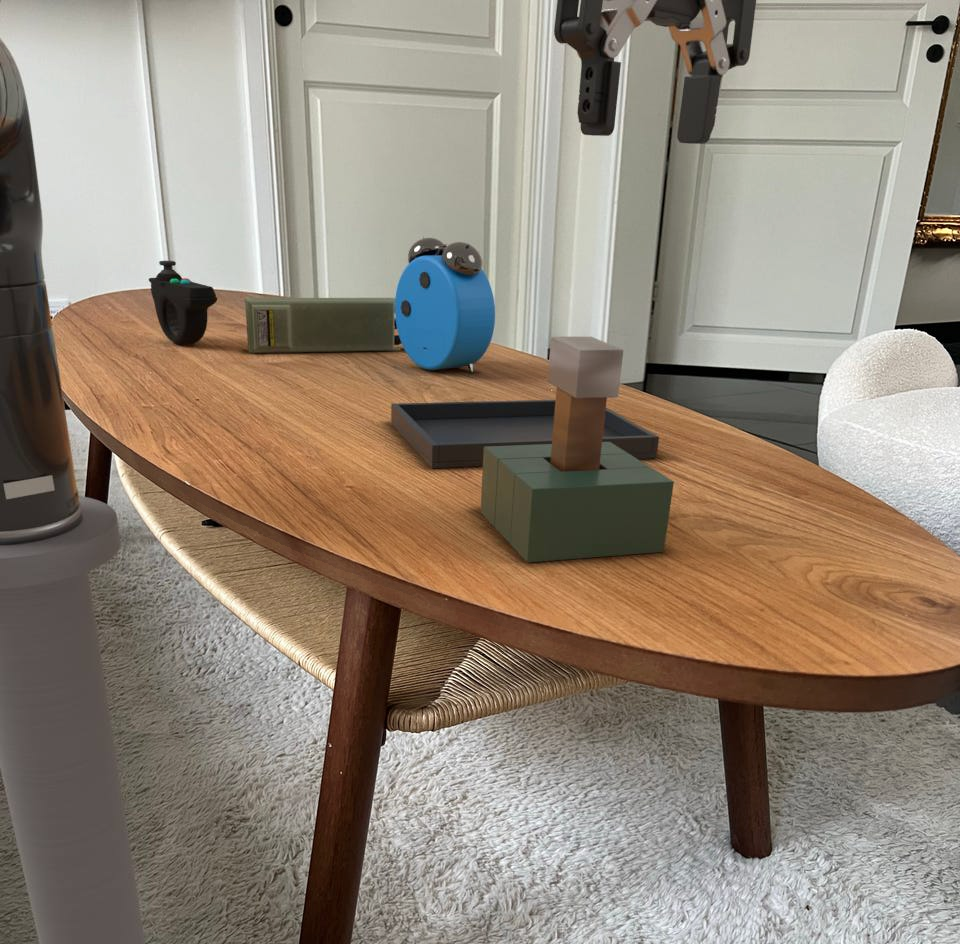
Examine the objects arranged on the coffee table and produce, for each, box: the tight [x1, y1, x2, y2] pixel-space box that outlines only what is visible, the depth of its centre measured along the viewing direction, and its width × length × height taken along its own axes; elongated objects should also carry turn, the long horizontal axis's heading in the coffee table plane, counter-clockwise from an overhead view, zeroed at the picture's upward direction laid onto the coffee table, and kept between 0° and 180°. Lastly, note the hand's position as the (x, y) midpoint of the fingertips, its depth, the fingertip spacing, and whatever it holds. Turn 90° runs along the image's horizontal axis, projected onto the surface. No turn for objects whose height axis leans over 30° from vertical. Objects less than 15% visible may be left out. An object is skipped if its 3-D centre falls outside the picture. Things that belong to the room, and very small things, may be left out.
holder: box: [480, 442, 675, 563], centre depth 65 cm, size 10×10×5 cm
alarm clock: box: [394, 236, 496, 373], centre depth 114 cm, size 13×6×15 cm, turn 40°
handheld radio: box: [244, 297, 402, 354], centre depth 124 cm, size 7×3×25 cm
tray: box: [390, 399, 660, 469], centre depth 88 cm, size 21×15×2 cm
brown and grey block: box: [547, 336, 624, 472], centre depth 64 cm, size 3×5×13 cm, turn 18°
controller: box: [148, 260, 218, 345], centre depth 121 cm, size 4×12×10 cm, turn 43°
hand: (646, 139), depth 58 cm, fingers open, 8 cm apart
